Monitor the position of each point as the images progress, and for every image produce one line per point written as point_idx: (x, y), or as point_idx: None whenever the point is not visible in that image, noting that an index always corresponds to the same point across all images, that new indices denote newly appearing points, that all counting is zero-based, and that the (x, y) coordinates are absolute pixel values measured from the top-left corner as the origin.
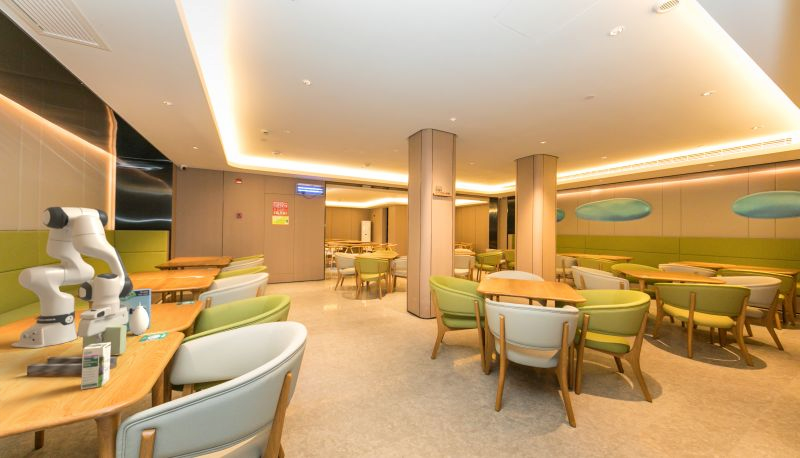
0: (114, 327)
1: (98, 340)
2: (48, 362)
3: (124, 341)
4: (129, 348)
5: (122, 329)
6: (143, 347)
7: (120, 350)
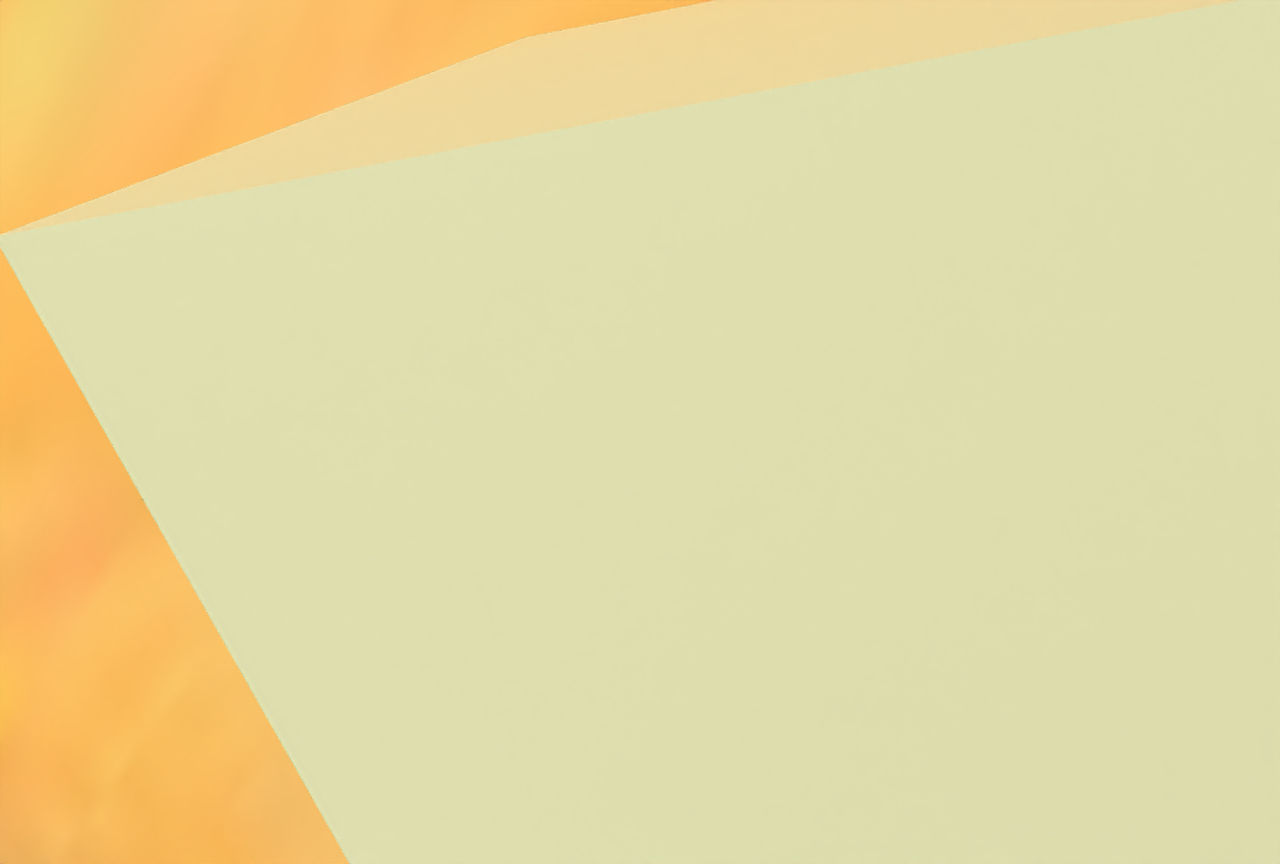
0: (1277, 851)
1: None
2: None
3: (561, 37)
4: None
5: (892, 7)
6: (28, 14)
7: (705, 3)
